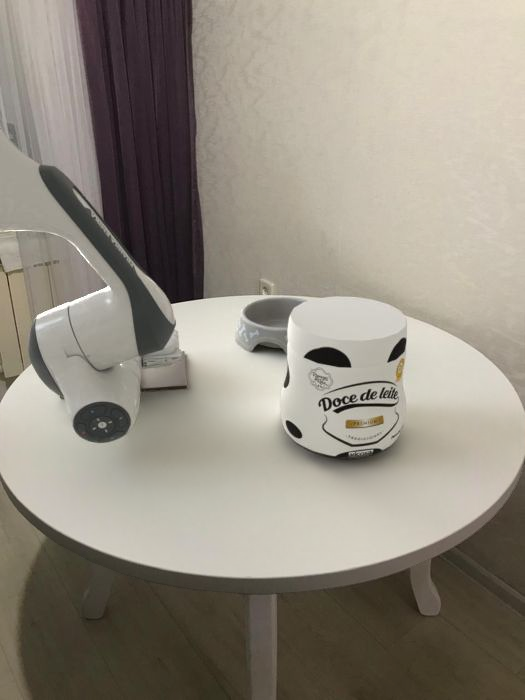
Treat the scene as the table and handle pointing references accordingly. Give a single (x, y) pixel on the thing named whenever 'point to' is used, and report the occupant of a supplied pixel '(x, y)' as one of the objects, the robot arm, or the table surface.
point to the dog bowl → (266, 322)
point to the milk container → (344, 376)
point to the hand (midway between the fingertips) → (117, 329)
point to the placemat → (164, 377)
